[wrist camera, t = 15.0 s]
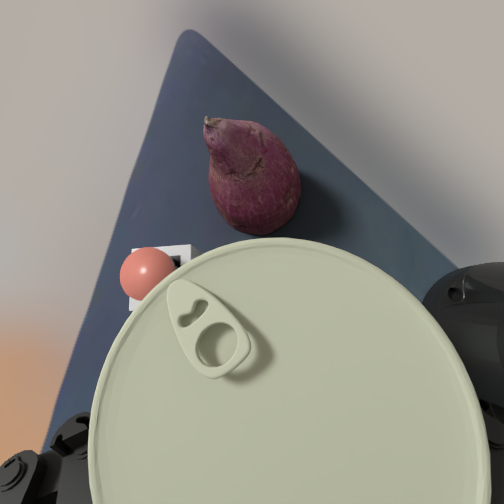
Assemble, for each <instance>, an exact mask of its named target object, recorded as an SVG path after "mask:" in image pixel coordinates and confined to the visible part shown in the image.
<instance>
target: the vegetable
mask: <svg viewBox="0 0 504 504" xmlns="http://www.w3.org/2000/svg"><path fill="white" fill-rule="evenodd" d="M204 123H205V125H204V129H203V131H204V139H205V142H206V145H207V148H208V151H209V153H210V156H211V157H210V164H209V187H210V192H211V195H212V199H213V202H214V204H215V205H216V207H217V209H218V211H219V212H220V214H221V215H222V217H223V218H224V219H225V220H226V222H227V223H228V224H229V225H230V226H231V227H233V228H234V229H236V230H238V231H241V232H245V233H249V234H254V235H260V236H262V235H267V234H270V233H272V232H274V231H276V230H278V229H279V228H281V227H282V226H284V225H285V224H286V223H287V222H288V221H289V220H290V219H291V218H292V216H293V215H294V213H295V210H296V208H297V205H298V203H299V199H300V195H301V181H300V177H299V173H298V169H297V166H296V163H295V161H294V160H293V159H292V156H291V154H290V152H289V151H288V149H287V148H286V147H285V145H284V144H283V143H282V141H281V140H280V139H279V138H278V137H277V136H276V135H274V134H273V133H272V132H271V131H270V130H268V129H267V128H265V127H263V126H262V125H260V124H259V123H255V122H253V121H242V120H239V121H237V120H230V119H221V118H208V117H207V116H206V117H205V119H204Z"/></svg>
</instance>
